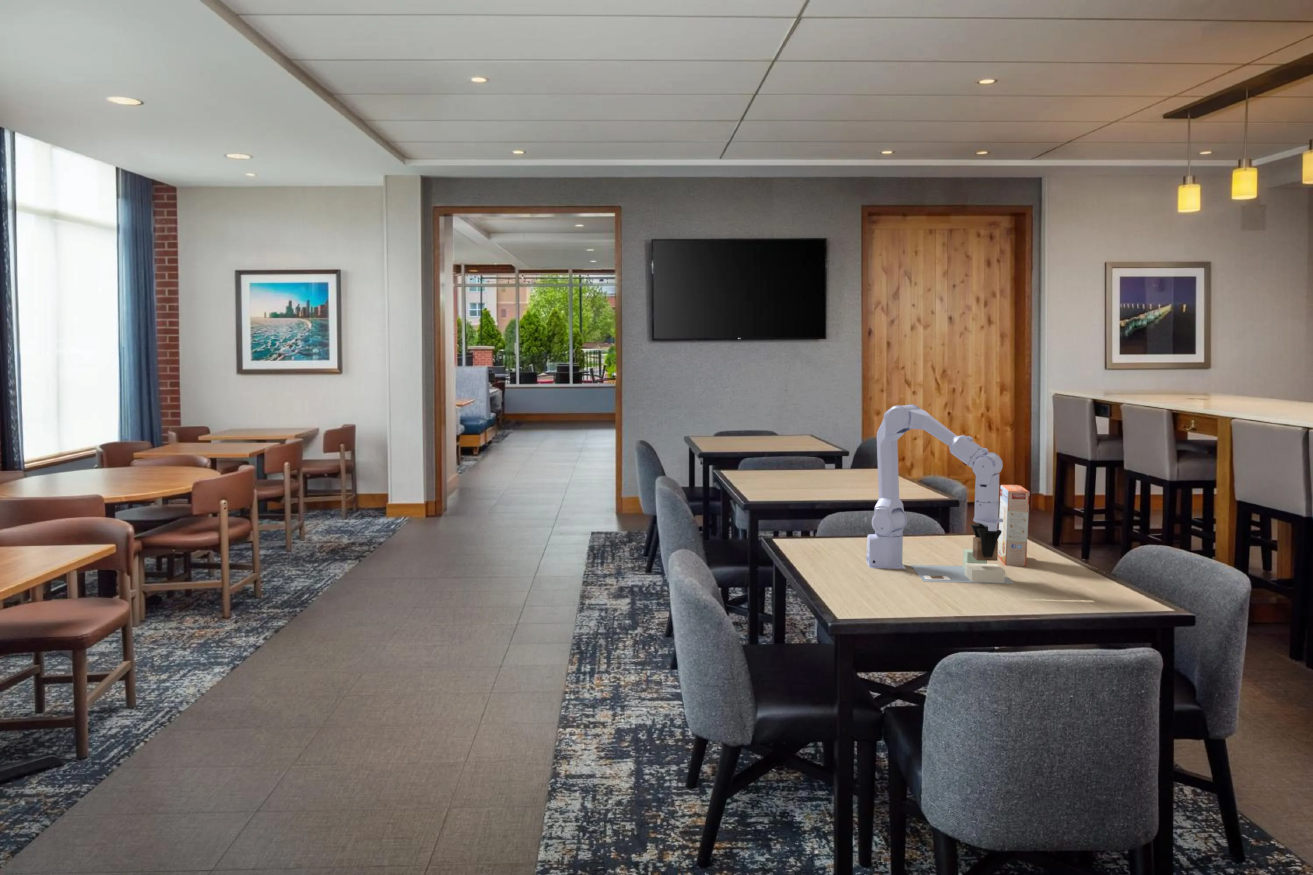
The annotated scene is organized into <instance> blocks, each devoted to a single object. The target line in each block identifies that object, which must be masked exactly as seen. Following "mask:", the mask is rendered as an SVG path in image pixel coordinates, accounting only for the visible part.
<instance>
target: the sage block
mask: <svg viewBox="0 0 1313 875" xmlns="http://www.w3.org/2000/svg"><path fill="white" fill-rule="evenodd" d="M962 550H963V553H962V554H963V556H962V557H963V558H962V566H963V568H964V569H965V563H974V564H988V561H981V560H976V559H975V558H974V557H973V548H963V549H962Z"/></svg>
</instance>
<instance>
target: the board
mask: <svg viewBox="0 0 1313 875" xmlns="http://www.w3.org/2000/svg"><path fill="white" fill-rule="evenodd" d="M910 566H911V568H913V570H914V571H915V573H916V574H917V576H918V577H919V578H920V579H921V580H922V582H924V583H956V584H957V583H961V584H962V583H963V584H964V583H967V584H1007V585H1009V584H1010V585H1012V584H1013V585H1014V582H1013V581H1012V580H1010V579H1009V578H1008V577H1007V576H1006V575H1005V582H972V581H971V580H970V579H969V578H968V577H967V576H966V575H965V569H964V568H963V565H939V564H938V565H934V564H933V565H930V564H928V565H927V564H910Z"/></svg>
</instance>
